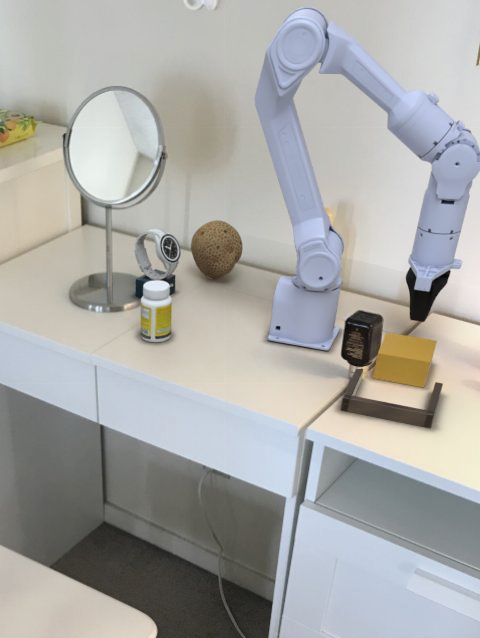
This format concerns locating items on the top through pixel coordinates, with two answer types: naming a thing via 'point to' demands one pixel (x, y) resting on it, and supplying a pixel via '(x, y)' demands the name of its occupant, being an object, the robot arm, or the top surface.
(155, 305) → the supplement bottle
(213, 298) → the top surface
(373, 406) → the bay
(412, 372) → the block
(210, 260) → the natural sponge
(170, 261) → the watch
